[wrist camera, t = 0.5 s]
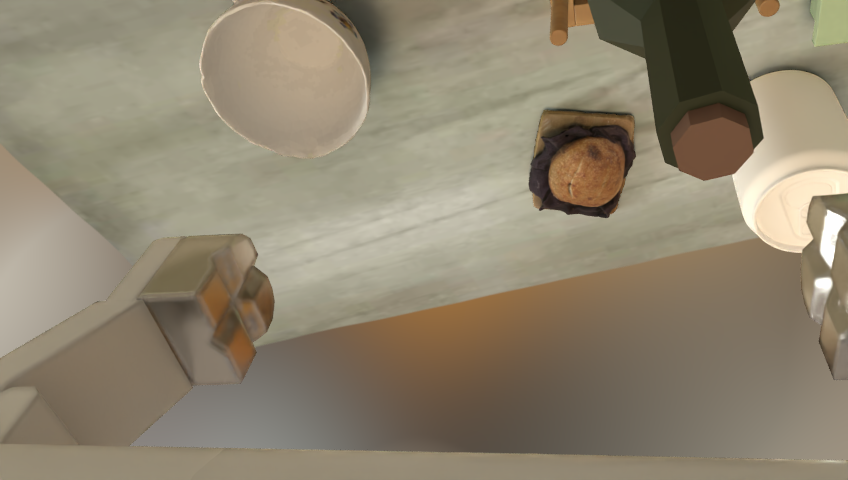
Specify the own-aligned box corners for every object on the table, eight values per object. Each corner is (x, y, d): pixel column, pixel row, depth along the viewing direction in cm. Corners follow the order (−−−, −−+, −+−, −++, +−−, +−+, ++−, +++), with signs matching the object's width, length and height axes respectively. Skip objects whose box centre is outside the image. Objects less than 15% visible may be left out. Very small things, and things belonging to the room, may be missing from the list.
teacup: (417, 75, 57) (399, 130, 51) (295, 123, 62) (266, 178, 56) (316, -105, 48) (281, -63, 42) (185, -32, 53) (137, 14, 48)
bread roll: (537, 105, 57) (535, 130, 54) (643, 113, 56) (646, 139, 53) (525, 205, 64) (523, 231, 61) (619, 214, 63) (620, 241, 60)
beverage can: (828, 50, 50) (881, 147, 41) (839, 139, 54) (888, 243, 46) (709, 85, 53) (735, 182, 44) (728, 166, 58) (755, 268, 49)
